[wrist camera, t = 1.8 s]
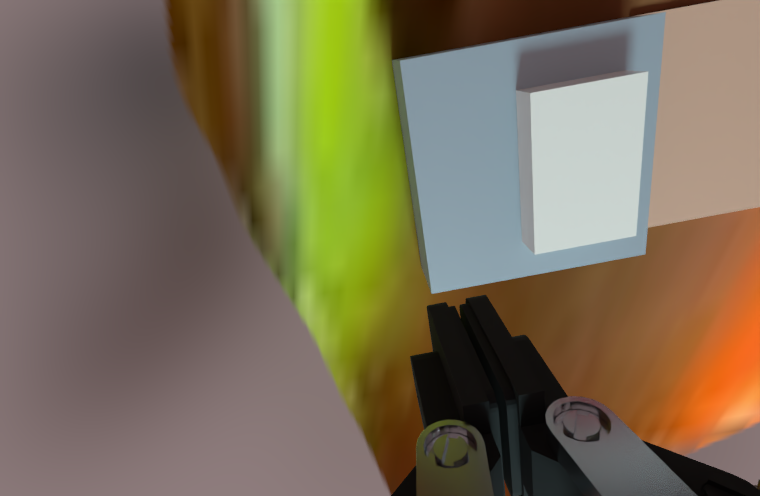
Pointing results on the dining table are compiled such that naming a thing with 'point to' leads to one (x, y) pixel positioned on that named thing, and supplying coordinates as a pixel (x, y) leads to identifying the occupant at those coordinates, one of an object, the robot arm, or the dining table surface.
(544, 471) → the robot arm
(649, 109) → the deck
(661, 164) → the mat
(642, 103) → the tile
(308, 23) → the dining table surface
